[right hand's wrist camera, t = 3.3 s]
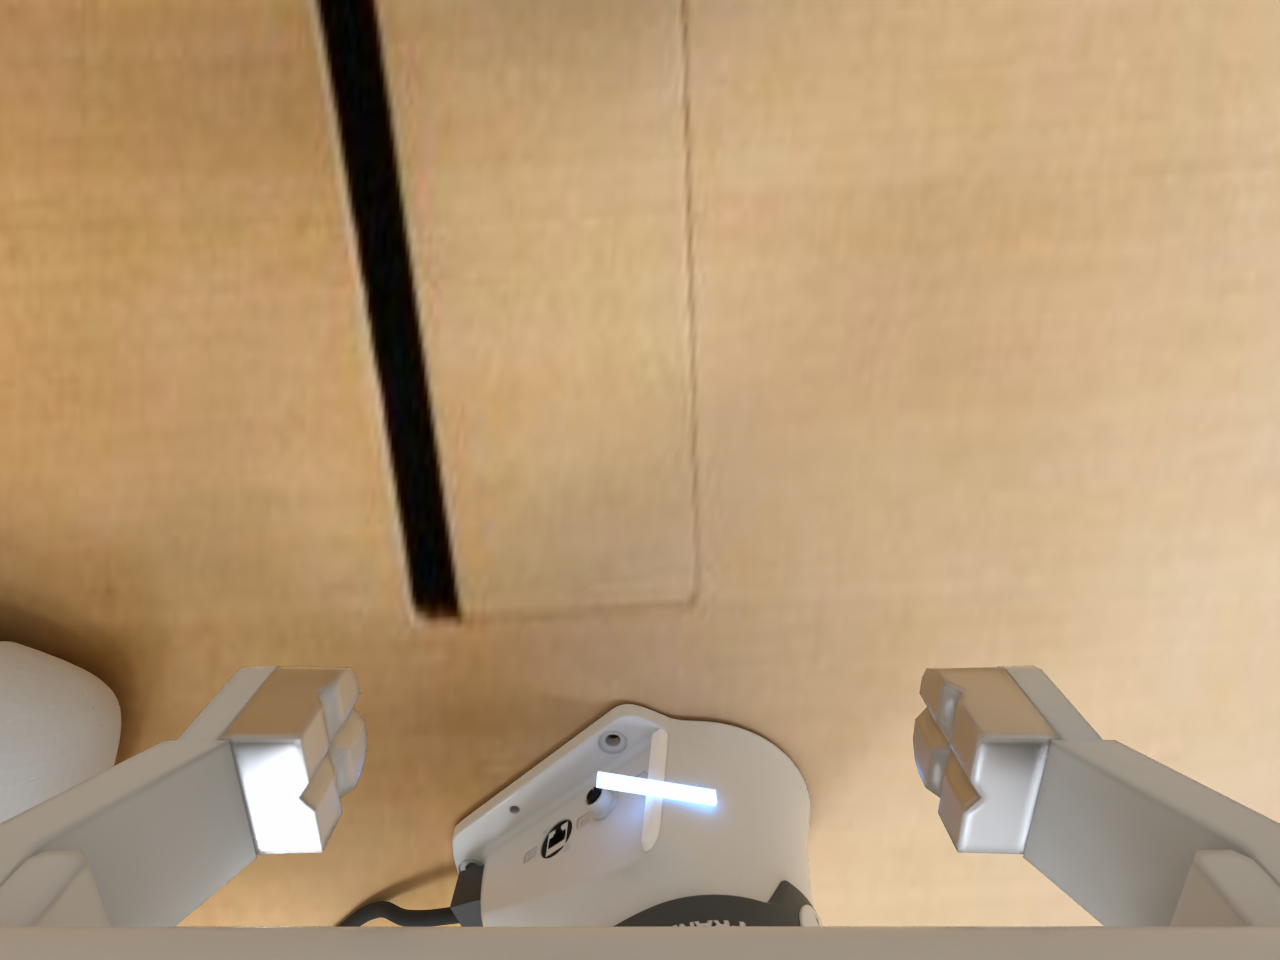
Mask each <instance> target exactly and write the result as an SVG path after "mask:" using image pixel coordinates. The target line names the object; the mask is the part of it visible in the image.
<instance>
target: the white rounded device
mask: <svg viewBox="0 0 1280 960" xmlns="http://www.w3.org/2000/svg"><path fill="white" fill-rule="evenodd" d="M120 734H121V709H120V706H119V702H118V700H117V698H116V696H115V694H114V693H113V691H112V690H111V689H110V688H109V687H108V686H107V685H106V684H105V683H104V682H103V681H102V680H100V679H99V678H98V677H96V676H95V675H93V674H91V673H90V672H88V671H86V670H84V669H82V668H80V667H78V666H76V665H73V664H71V663H69V662H67V661H65V660H62V659H60V658H57V657H55V656H52V655H49V654H47V653H44V652H42V651H39V650H36V649H33V648H30V647H27V646H24V645H22V644H19V643H16V642H9V641H0V823H2V822H4V821H6V820H8V819H10V818H12V817H14V816H16V815H18V814H20V813H22V812H24V811H26V810H28V809H30V808H32V807H34V806H36V805H38V804H40V803H42V802H44V801H46V800H48V799H50V798H52V797H54V796H56V795H58V794H60V793H62V792H63V791H65V790H67V789H69V788H71V787H73V786H75V785H77V784H79V783H81V782H83V781H85V780H87V779H89V778H91V777H93V776H95V775H97V774H99V773H101V772H103V771H105V770H107V769H109V768H111V767H113V766H114V764H115V760H116V756H117V751H118V746H119V742H120Z"/></svg>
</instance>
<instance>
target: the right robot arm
mask: <svg viewBox="0 0 1280 960" xmlns="http://www.w3.org/2000/svg"><path fill="white" fill-rule="evenodd" d="M359 695H360V688H359V683H358V678H357V673H356V672H355V671H354V670H353V669H351V668H348V667H301V666H282V667H279V666H247V667H244V668H241V669H239V670H238V671H237V672H236V673H235V674H234V675H233V676H232V677H231V679H230V680H229V681H228V682H227V683H226V684H225V685H224V687H223V688H222V689H221V690H220V691H219V692H218V693H217V695H216V696H215V697H214V698H213V699H212V700H211V701H210V703H209V704H208V705H207V706H206V707H205V708H204V709H203V711H202V712H201V713H200V714H199V715H198V716H197V717H196V718H195V720H194V721H193V722H192V723H191V724H190V725H189V726H188V728H187V729H186V730H185V731H184V732H183V733H182V734H181V736H180V737H179V738H178V739H177V740H164V741H162V742H160V743H158V744H156V745H154V746H152V747H150V748H148V749H146V750H144V751H143V752H141V753H139V754H137V755H135V756H133V757H131V758H129V759H127V760H125V761H123V762H121V763H119V764H117V765H115V766H113V767H111V768H109V769H107V770H105V771H103V772H101V773H99V774H97V775H95V776H93V777H91V778H89V779H87V780H85V781H83V782H81V783H79V784H77V785H75V786H73V787H71V788H69V789H67V790H65V791H63V792H62V793H60V794H58V795H56V796H54V797H52V798H50V799H48V800H46V801H44V802H42V803H40V804H38V805H36V806H34V807H32V808H30V809H28V810H26V811H24V812H22V813H20V814H18V815H16V816H14V817H12V818H10V819H8V820H6V821H4V822H2V823H0V960H1280V824H1279V823H1277V822H1275V821H1273V820H1271V819H1269V818H1267V817H1265V816H1264V815H1262V814H1260V813H1258V812H1256V811H1254V810H1252V809H1250V808H1248V807H1246V806H1244V805H1242V804H1240V803H1238V802H1236V801H1234V800H1232V799H1230V798H1228V797H1226V796H1224V795H1222V794H1220V793H1218V792H1216V791H1214V790H1212V789H1210V788H1208V787H1206V786H1204V785H1202V784H1200V783H1198V782H1197V781H1195V780H1193V779H1191V778H1189V777H1187V776H1185V775H1183V774H1181V773H1179V772H1177V771H1175V770H1173V769H1171V768H1169V767H1167V766H1165V765H1163V764H1161V763H1159V762H1157V761H1155V760H1153V759H1151V758H1149V757H1147V756H1145V755H1143V754H1141V753H1139V752H1137V751H1135V750H1133V749H1132V748H1130V747H1128V746H1126V745H1124V744H1122V743H1120V742H1118V741H1116V740H1103V739H1102V738H1101V737H1100V736H1099V734H1098V733H1097V732H1096V731H1095V730H1094V729H1093V728H1092V727H1091V725H1090V724H1089V723H1088V722H1087V721H1086V720H1085V719H1084V717H1083V716H1082V715H1081V714H1080V713H1079V712H1078V711H1077V709H1076V708H1075V707H1074V706H1073V705H1072V704H1071V703H1070V701H1069V700H1068V699H1067V698H1066V697H1065V696H1064V695H1063V693H1062V692H1061V691H1060V690H1059V689H1058V688H1057V687H1056V685H1055V684H1054V683H1053V682H1052V681H1051V680H1050V679H1049V677H1048V676H1047V675H1046V674H1045V673H1044V672H1043V671H1042V670H1041V669H1039V668H1037V667H1035V666H1002V667H992V668H927V669H926V671H925V673H924V675H923V677H922V681H921V687H920V695H921V697H922V698H923V700H924V702H925V704H926V705H927V708H926V709H925V710H924V711H923V712H922V713H921V714H920V715H919V716H918V717H917V718H916V719H915V726H914V735H913V745H914V756H915V761H916V765H917V768H918V772H919V775H920V777H921V779H922V781H923V783H924V785H925V787H926V788H927V789H928V790H930V791H931V792H933V793H934V794H935V795H937V796H938V797H940V803H939V809H938V814H939V816H940V818H941V820H942V822H943V824H944V826H945V828H946V830H947V832H948V834H949V836H950V838H951V840H952V842H953V844H954V846H955V848H956V850H957V852H964V853H1000V854H1024V856H1023V858H1025V859H1026V860H1027V861H1028V862H1029V863H1031V864H1032V865H1033V866H1034V867H1035V868H1036V869H1038V870H1039V871H1040V872H1041V873H1042V874H1044V875H1045V876H1046V877H1047V878H1048V879H1049V880H1051V881H1052V882H1053V883H1054V884H1055V885H1057V886H1058V887H1059V888H1060V889H1061V890H1062V891H1064V892H1065V893H1066V894H1067V895H1068V896H1069V897H1071V898H1072V899H1073V900H1074V901H1075V902H1077V903H1078V904H1079V905H1080V906H1081V907H1082V908H1084V909H1085V910H1086V911H1087V912H1088V913H1090V914H1091V915H1092V916H1093V917H1094V918H1095V919H1097V920H1098V921H1099V922H1100V923H1101V924H1103V925H1104V926H1078V927H838V926H823V925H822V923H821V920H820V918H819V916H818V915H817V913H816V911H815V909H814V907H813V900H812V892H811V883H810V874H809V858H808V834H809V823H810V813H811V806H810V797H809V793H808V789H807V786H806V783H805V781H804V779H803V777H802V775H801V773H800V771H799V770H798V768H797V767H796V765H795V764H794V763H793V762H792V760H791V759H790V758H789V757H788V756H787V755H786V754H785V753H784V752H783V751H782V750H780V749H779V748H778V747H777V746H775V745H774V744H773V743H771V742H769V741H768V740H766V739H765V738H763V737H761V736H759V735H757V734H755V733H753V732H750V731H748V730H745V729H742V728H739V727H736V726H732V725H728V724H723V723H717V722H709V721H692V720H679V719H673V718H669V717H667V716H665V715H663V714H660V713H658V712H655V711H653V710H651V709H648V708H645V707H642V706H639V705H634V704H622V705H619V706H617V707H615V708H613V709H612V710H610V711H609V712H607V713H606V714H605V715H603V716H602V717H601V718H599V719H598V720H597V721H595V722H594V723H593V724H591V725H590V726H589V727H587V728H586V729H584V730H583V731H582V732H580V733H579V734H578V735H576V736H575V737H574V738H572V739H571V740H570V741H568V742H567V743H566V744H564V745H563V746H561V747H560V748H559V749H557V750H556V751H555V752H553V753H552V754H551V755H549V756H548V757H547V758H545V759H544V760H543V761H541V762H540V763H538V764H537V765H536V766H534V767H533V768H532V769H530V770H529V771H528V772H526V773H525V774H524V775H522V776H521V777H520V778H518V779H517V780H515V781H514V782H513V783H511V784H510V785H509V786H507V787H506V788H505V789H503V790H502V791H501V792H499V793H498V794H497V795H495V796H494V797H493V798H491V799H490V800H488V801H487V802H486V803H484V804H483V805H482V806H480V807H479V808H478V809H476V810H475V811H474V812H472V813H471V814H470V815H468V816H467V817H466V818H464V819H463V820H462V821H461V822H459V823H458V824H457V825H456V827H455V828H454V833H453V839H452V850H453V858H454V862H455V865H456V869H457V871H458V873H459V876H458V880H457V884H456V887H455V891H454V895H453V898H452V902H451V906H450V907H448V908H441V909H432V910H406V909H402V908H400V907H398V906H396V905H395V904H393V903H390V902H387V901H381V902H377V903H373V904H370V905H368V906H366V907H364V908H362V909H360V910H358V911H357V912H355V913H354V914H353V915H351V916H350V917H349V918H348V919H347V920H345V921H344V922H343V923H342V924H341V925H340V926H339V927H175V926H176V925H178V924H179V923H180V922H181V921H182V920H184V919H185V918H186V917H187V916H188V915H189V914H191V913H192V912H193V911H194V910H195V909H197V908H198V907H199V906H200V905H201V904H202V903H204V902H205V901H206V900H207V899H208V898H210V897H211V896H212V895H213V894H214V893H215V892H217V891H218V890H219V889H220V888H221V887H223V886H224V885H225V884H226V883H227V882H229V881H230V880H231V879H232V878H233V877H234V876H236V875H237V874H238V873H239V872H240V871H242V870H243V869H244V868H245V867H246V866H247V865H249V864H250V863H251V862H252V861H253V860H255V859H256V857H257V856H256V854H279V853H314V852H323V850H324V848H325V846H326V844H327V842H328V840H329V838H330V836H331V834H332V832H333V830H334V828H335V826H336V824H337V822H338V820H339V818H340V816H341V814H342V809H341V803H340V797H342V796H343V795H345V794H346V793H347V792H349V791H350V790H352V789H353V788H354V787H355V785H356V783H357V781H358V779H359V777H360V774H361V772H362V769H363V764H364V759H365V755H366V747H367V732H366V725H365V719H364V718H363V717H362V716H361V715H360V714H359V713H358V712H357V711H356V710H355V709H354V708H353V705H354V704H355V702H356V700H357V698H358V697H359ZM611 734H615V735H617V736H618V737H616V738H611V737H609V735H611ZM379 917H383V918H386V919H388V920H390V921H392V922H394V923H396V924H398V925H401V926H406V927H360V926H361V925H363V924H364V923H366V922H367V921H369V920H372V919H375V918H379ZM455 923H460V924H461V926H462V927H430V926H439V925H447V924H455Z"/></svg>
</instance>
